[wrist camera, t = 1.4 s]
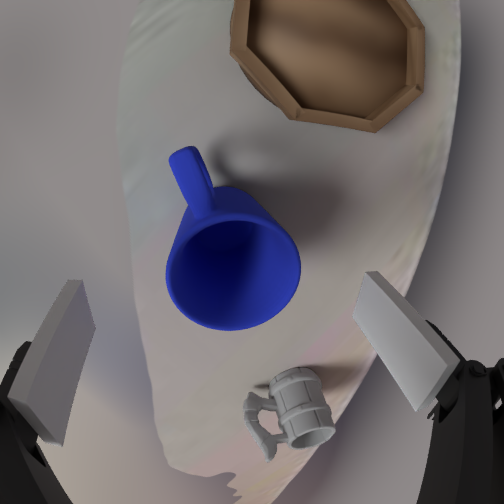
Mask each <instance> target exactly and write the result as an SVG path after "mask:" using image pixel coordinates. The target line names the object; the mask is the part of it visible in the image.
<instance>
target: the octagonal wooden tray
mask: <svg viewBox="0 0 504 504" xmlns="http://www.w3.org/2000/svg"><path fill="white" fill-rule="evenodd" d="M230 36H231V42H230V55H231V56H232V57H233V58H234V59H235V60H236V61H237V62H238V63H239V65H240V68H241V69H242V71H243V72H244V74H245V76H246V77H247V79H248V80H249V81H250V82H251V84H252V85H253V86H254V87H255V89H257V90H258V91H259V92H260V93H261V94H262V95H263V96H264V97H265V98H266V99H267V100H269V101H270V102H271V103H273V104H274V105H275V106H277V107H278V108H280V109H281V110H282V112H283V113H284V114H285V115H286V116H287V118H288V119H289V120H296V121H304V122H312V123H319V124H326V125H333V126H339V127H345V128H351V129H356V130H361V131H366V132H372V133H376V132H377V131H378V130H380V129H381V128H382V127H383V126H384V125H385V124H387V123H388V122H389V121H390V120H391V119H393V118H394V117H395V116H396V115H397V114H398V113H400V112H401V111H402V110H403V109H404V108H406V107H407V106H408V105H409V104H410V103H411V102H413V101H414V100H415V99H416V98H417V97H419V96H420V95H421V94H422V93H423V90H424V70H425V27H424V26H423V24H422V23H421V21H420V19H419V18H418V16H417V15H416V14H415V12H414V11H413V9H412V8H411V6H410V5H409V4H408V2H407V1H406V0H234V8H233V11H232V15H231V21H230Z"/></svg>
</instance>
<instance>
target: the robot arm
mask: <svg viewBox="0 0 504 504" xmlns="http://www.w3.org/2000/svg"><path fill="white" fill-rule="evenodd" d="M352 317H353V319H354V320H355V321H356V323H357V324H358V326H359V327H360V329H361V330H362V332H363V333H364V334H365V336H366V337H367V339H368V340H369V342H370V343H371V345H372V346H373V348H374V349H375V351H376V352H377V353H378V355H379V356H380V358H381V359H382V361H383V362H384V364H385V365H386V367H387V368H388V370H389V371H390V373H391V375H392V376H393V378H394V379H395V380H396V382H397V384H398V385H399V387H400V388H401V390H402V391H403V393H404V394H405V396H406V398H407V399H408V401H409V402H410V404H411V405H412V407H413V409H414V410H415V412H417V411H419V410H421V409H424V408H426V407H428V406H429V405H430V404H431V402H432V401H433V400H434V398H435V397H436V398H437V400H438V401H439V402H438V403H437V404H436V406H435V407H434V408H433V409H432V411H431V412H430V413H429V414H428V417H427V419H429V418H430V417H431V416H432V415H433V413H435V414H434V417H433V419H432V420H434V422H433V429H432V436H431V442H430V448H429V454H428V459H427V464H426V468H425V473H424V477H423V481H422V485H421V489H420V493H419V497H418V500H417V504H504V358H501V359H500V360H499V361H498V362H497V364H496V365H495V367H491V368H486V367H485V366H484V365H483V364H482V363H480V362H478V361H475V360H469V361H466V360H465V358H464V357H463V356H462V355H461V354H460V353H459V351H458V350H457V349H456V348H455V347H454V346H453V345H452V343H451V342H450V341H449V340H447V338H446V337H445V336H444V335H442V332H441V331H440V330H439V329H438V328H437V327H436V326H435V325H434V324H432V323H430V322H429V321H427V320H424V319H423V318H422V317H421V316H420V314H419V313H418V312H417V311H416V310H415V309H414V308H413V307H412V306H411V305H410V304H409V303H408V302H407V301H406V300H405V299H404V297H403V296H402V295H401V294H400V293H399V292H398V291H397V290H396V289H395V288H394V287H393V286H392V285H391V284H390V283H389V282H388V281H387V280H386V279H385V278H384V277H383V276H382V275H381V274H380V273H379V272H378V271H373V272H365V275H364V278H363V282H362V286H361V289H360V293H359V296H358V300H357V303H356V306H355V309H354V313H353V316H352ZM95 329H96V327H95V324H94V321H93V318H92V315H91V311H90V307H89V303H88V300H87V296H86V292H85V288H84V284H83V281H82V280H68V281H67V282H66V284H65V285H64V287H63V289H62V290H61V292H60V294H59V295H58V297H57V299H56V300H55V302H54V303H53V305H52V307H51V309H50V310H49V312H48V314H47V316H46V318H45V319H44V321H43V323H42V325H41V327H40V328H39V330H38V332H37V334H36V336H35V338H34V340H33V342H28V341H26V342H25V343H24V344H23V345H22V346H21V347H20V348H19V349H17V351H16V353H15V355H14V357H13V361H12V362H11V363H10V365H9V369H8V370H7V372H6V374H5V376H4V378H3V380H2V382H1V385H0V504H73V503H72V502H71V500H70V499H69V498H68V496H67V494H66V493H65V491H64V489H63V488H62V486H61V485H60V483H59V481H58V480H57V478H56V476H55V475H54V473H53V471H52V469H51V467H50V466H49V464H48V462H47V460H46V458H45V456H44V454H43V452H42V450H41V448H40V446H39V445H38V444H37V442H36V441H37V437H38V435H39V437H40V438H41V439H42V440H43V441H44V442H45V443H48V444H52V445H56V446H61V447H62V446H63V443H64V438H65V433H66V429H67V424H68V420H69V416H70V412H71V408H72V404H73V400H74V396H75V393H76V389H77V385H78V382H79V378H80V375H81V372H82V368H83V365H84V362H85V359H86V356H87V353H88V349H89V347H90V343H91V341H92V338H93V335H94V332H95ZM500 398H501V401H502V404H501V406H500V407H499V408H498V409H496V408H495V404H496V403H497V402H498V401H499V399H500Z"/></svg>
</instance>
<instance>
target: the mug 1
mask: <svg viewBox="0 0 504 504" xmlns="http://www.w3.org/2000/svg"><path fill="white" fill-rule="evenodd" d="M169 164H170V167H171V169H172V171H173V174H174V176H175V178H176V181H177V183H178V185H179V187H180V189H181V192H182V194H183V196H184V198H185V200H186V202H187V203H188V207H187V209H186V211H185V213H184V215H183V218H182V221H181V224H180V226H179V229H178V232H177V235H176V237H175V240H174V243H173V246H172V249H171V252H170V255H169V257H168V261H167V265H166V284H167V288H168V292H169V294H170V297H171V299H172V301H173V302H174V304H175V305H176V307H177V308H178V309H179V310H180V311H181V312H182V313H183V314H184V315H185V316H186V317H188V318H189V319H190V320H192V321H194V322H195V323H197V324H199V325H202V326H204V327H207V328H211V329H216V330H224V331H234V330H242V329H248V328H251V327H254V326H257V325H260V324H262V323H264V322H266V321H268V320H269V319H271V318H273V317H274V316H275V315H277V314H278V313H279V312H280V311H281V310H282V309H283V308H284V307H285V306H286V305H287V304H288V303H289V301H290V300H291V298H292V297H293V295H294V293H295V291H296V289H297V287H298V284H299V280H300V275H301V261H300V256H299V252H298V249H297V247H296V245H295V243H294V241H293V239H292V238H291V237H290V235H289V234H288V233H287V232H286V231H285V230H284V229H283V228H282V227H281V226H280V225H279V224H278V223H277V222H276V221H275V220H274V219H273V218H272V217H271V216H270V214H269V213H268V212H267V211H266V210H265V209H264V208H263V207H262V206H261V205H260V204H259V203H258V202H257V201H256V200H255V199H254V198H252V197H251V196H250V195H249V194H247V193H246V192H244V191H242V190H240V189H237V188H234V187H227V186H222V187H215V188H213V185H212V181H211V179H210V176H209V173H208V171H207V168H206V166H205V164H204V161H203V159H202V157H201V155H200V153H199V151H198V149H197V148H196V147H194V146H188V147H185V148H182V149H180V150H178V151H176V152H174V153H173V154H172V155H171V156H170V157H169Z"/></svg>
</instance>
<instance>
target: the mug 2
mask: <svg viewBox="0 0 504 504" xmlns="http://www.w3.org/2000/svg"><path fill="white" fill-rule="evenodd" d="M261 409H264V410H268V411H276V413H277V416H278V419H279V420H278V425H279V428H280V430H281V431H282V432H283V434H276V435H271V434H270V433H269V432H268V431H267V430H266V429H265V428H263V427H262V426H261V425H260V424H259V420H258V416H257V415H258V413H259V411H260V410H261ZM243 412H244V423H245V425H246V426H247V428H248V430H249V432H250V434H251V435H252V437H253V438H254V440H255V441H256V443H257V444H258V446H259V447H260V448H261V450H262V452H263V453H264V456H265V461H266V462H270V461H271V460H272V459H273V458H274V456H275V454H276V452H277V444H278V443H284V442H286V443H287V445H288V447H289V448H291V449H295V450H302V449H307V448H311V447H315V446H318V445H320V444H322V443H324V442H326V440H329V439H330V438H331V437H332V435H333V434H334V433H335V432H336V428H335V426H334V423H333V420H332V417H331V414H332V412H331V409H330V407H329V405H328V404H326V401H325V398H324V396H323V393H322V383H321V380H320V378H319V377H318V376H317V375H316V374H315V373H314V372H313V371H312V370H311V369H308V368H303V367H301V368H299V369H298V368H293V369H290V370H287V371H285V372H282V373H280V374H278V375H277V376H276V377H274V379H273V380H272V381H271V382H270V384H269V399H266V398H262V397H260V396H258V395H256V394H255V393H253V392H249V393H248V396H247V399H246V400H245V401H244V404H243Z"/></svg>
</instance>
